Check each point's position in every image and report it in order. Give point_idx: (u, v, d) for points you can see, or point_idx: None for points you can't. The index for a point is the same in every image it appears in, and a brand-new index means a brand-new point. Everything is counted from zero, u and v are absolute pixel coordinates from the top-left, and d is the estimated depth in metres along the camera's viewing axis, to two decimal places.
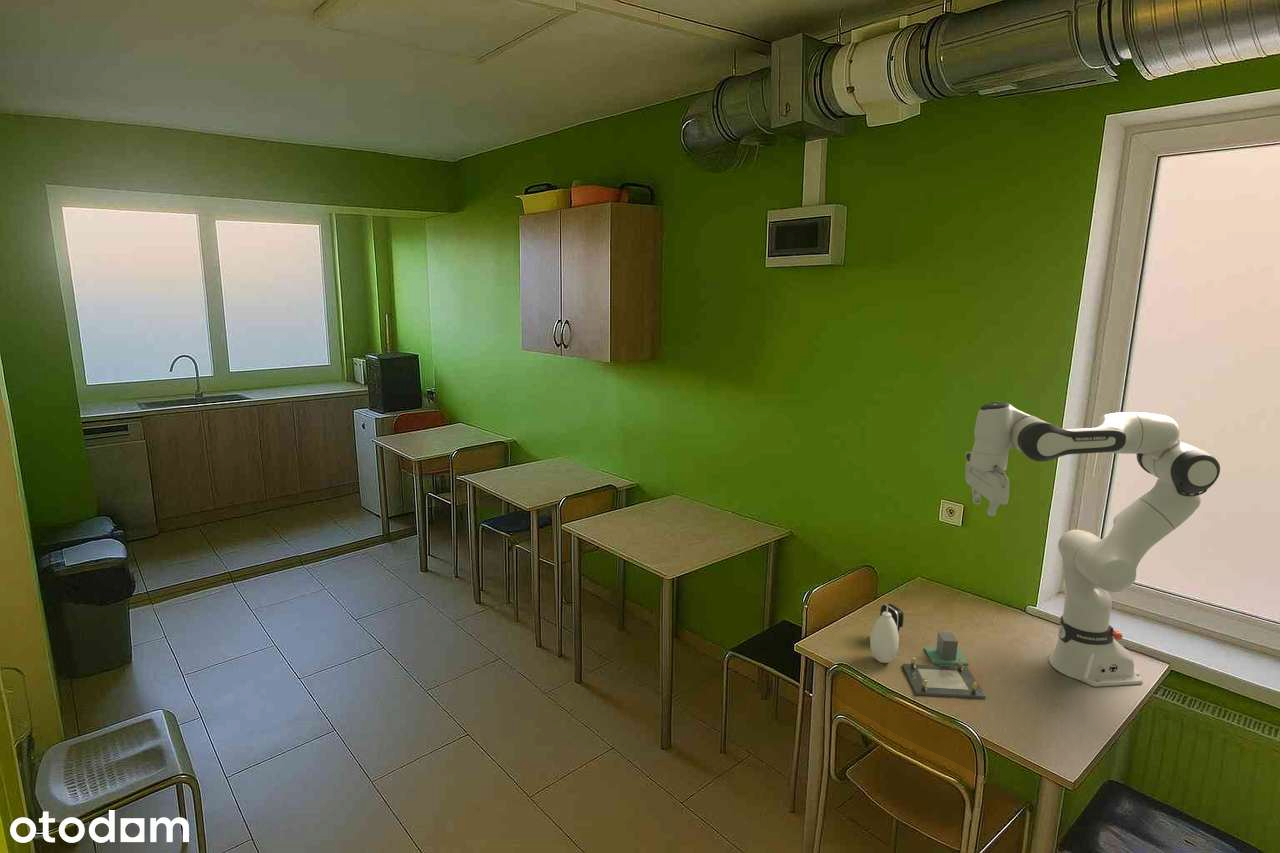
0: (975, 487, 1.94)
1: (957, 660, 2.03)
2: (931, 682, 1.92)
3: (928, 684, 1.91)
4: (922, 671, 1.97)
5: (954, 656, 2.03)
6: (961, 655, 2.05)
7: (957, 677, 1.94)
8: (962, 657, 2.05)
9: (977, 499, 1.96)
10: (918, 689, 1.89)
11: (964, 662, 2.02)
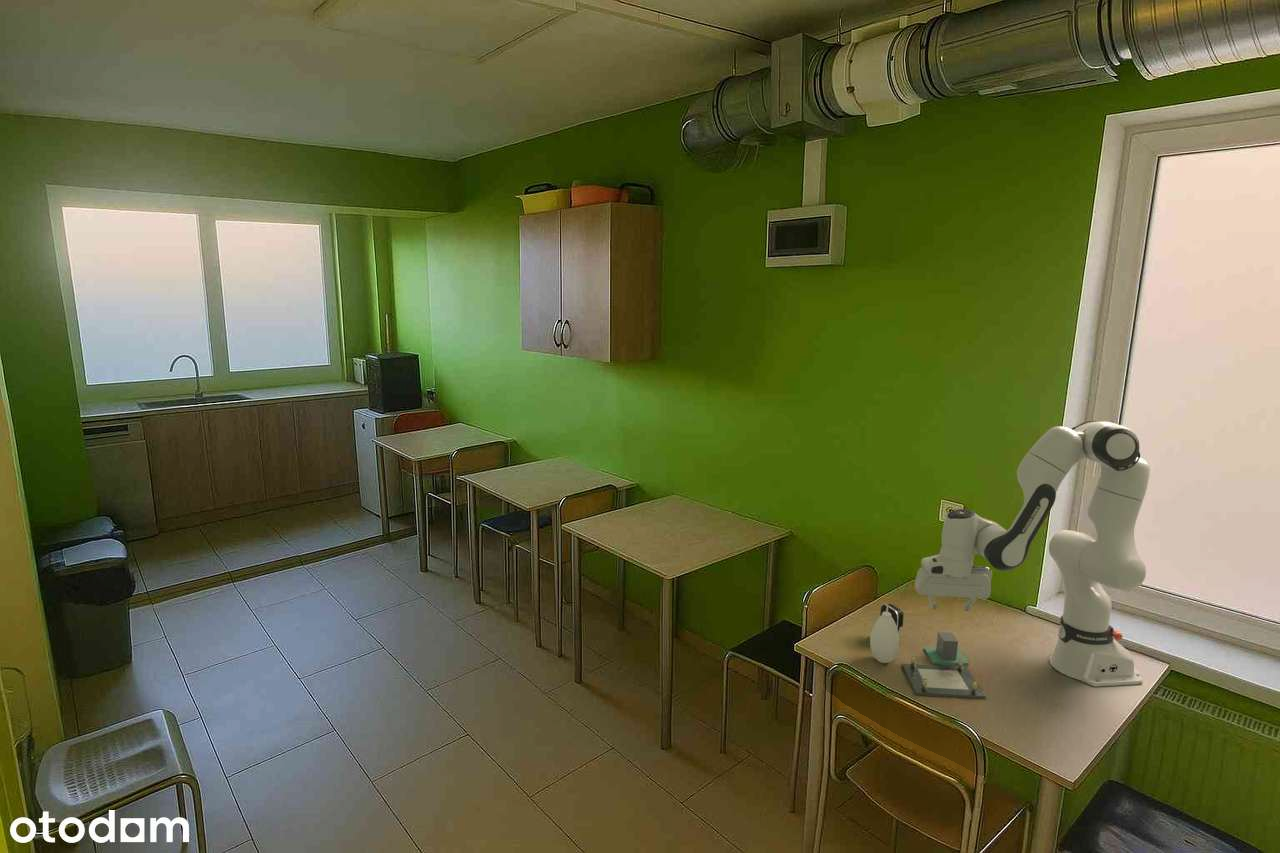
0: (945, 594, 2.00)
1: (957, 660, 2.03)
2: (931, 682, 1.92)
3: (928, 684, 1.91)
4: (922, 671, 1.97)
5: (954, 656, 2.03)
6: (961, 655, 2.06)
7: (957, 677, 1.94)
8: (962, 656, 2.05)
9: None
10: (918, 689, 1.89)
11: (964, 662, 2.02)
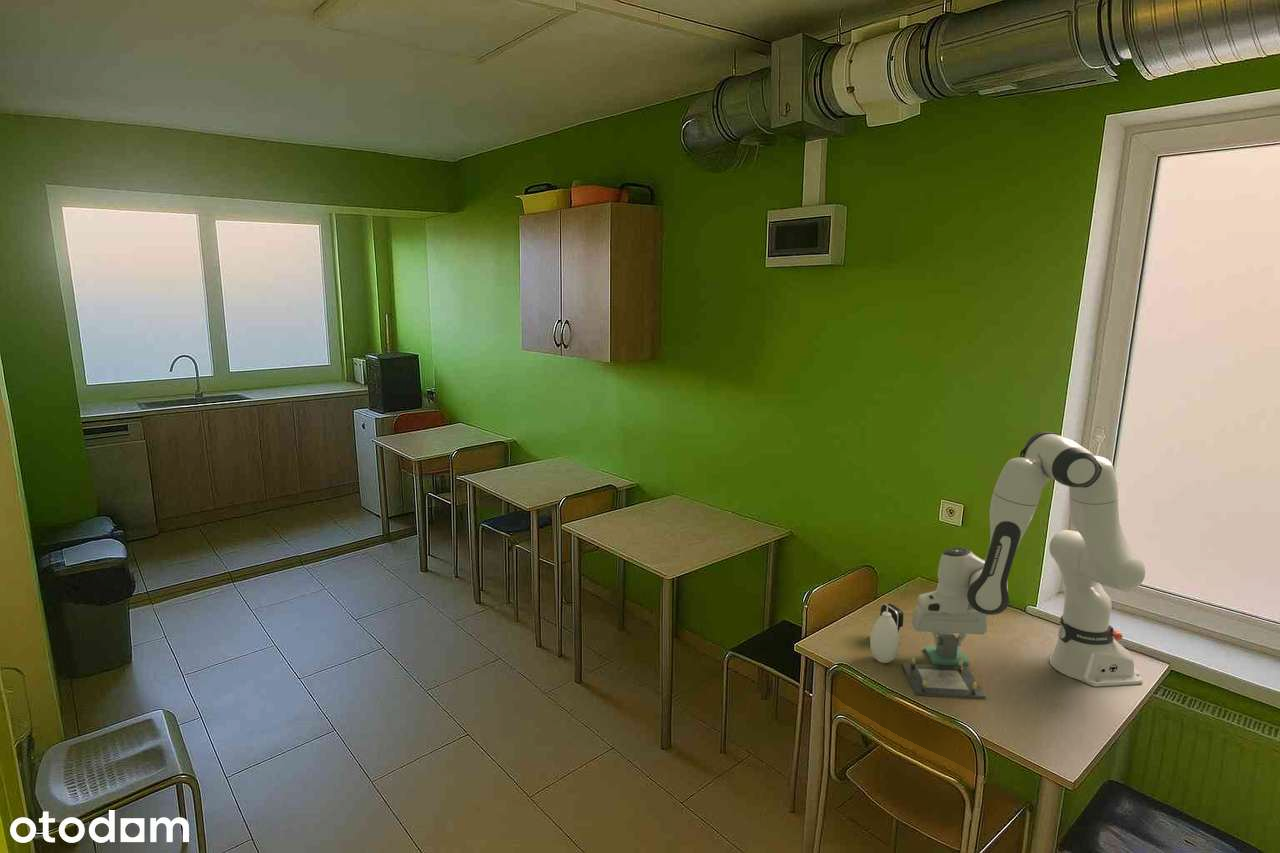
0: (942, 630, 2.02)
1: (957, 659, 2.03)
2: (931, 682, 1.92)
3: (928, 684, 1.91)
4: (922, 671, 1.97)
5: (954, 655, 2.03)
6: (961, 654, 2.06)
7: (957, 677, 1.94)
8: (962, 655, 2.05)
9: None
10: (918, 689, 1.89)
11: (964, 661, 2.02)
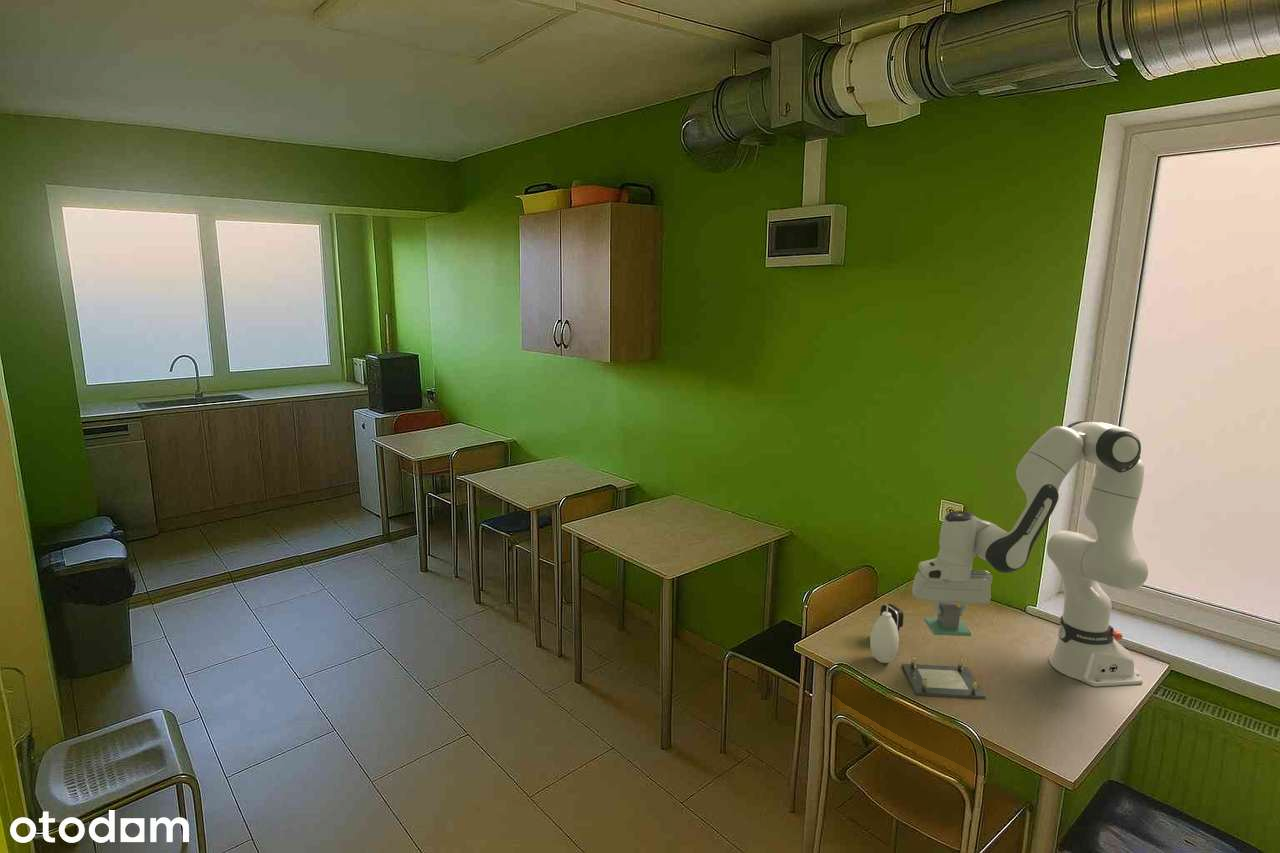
0: (943, 599, 1.92)
1: (959, 630, 1.93)
2: (931, 682, 1.92)
3: (928, 684, 1.91)
4: (922, 671, 1.97)
5: (956, 625, 1.93)
6: (963, 625, 1.96)
7: (957, 677, 1.94)
8: (965, 626, 1.95)
9: None
10: (918, 689, 1.89)
11: (967, 632, 1.92)
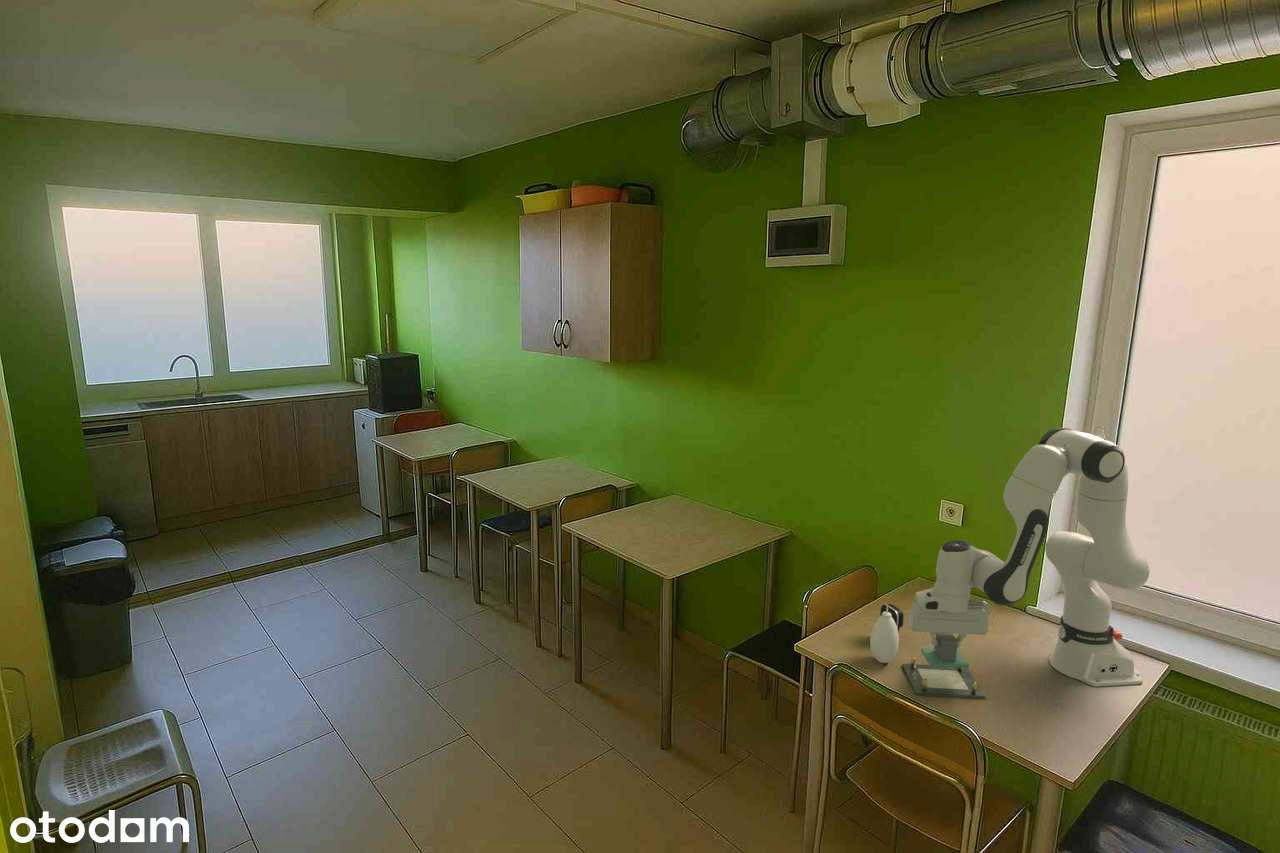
0: (940, 630, 1.88)
1: (957, 661, 1.89)
2: (931, 682, 1.92)
3: (928, 684, 1.91)
4: (922, 671, 1.97)
5: (954, 657, 1.89)
6: (960, 656, 1.92)
7: (957, 677, 1.94)
8: (962, 657, 1.91)
9: None
10: (918, 689, 1.89)
11: (964, 663, 1.88)
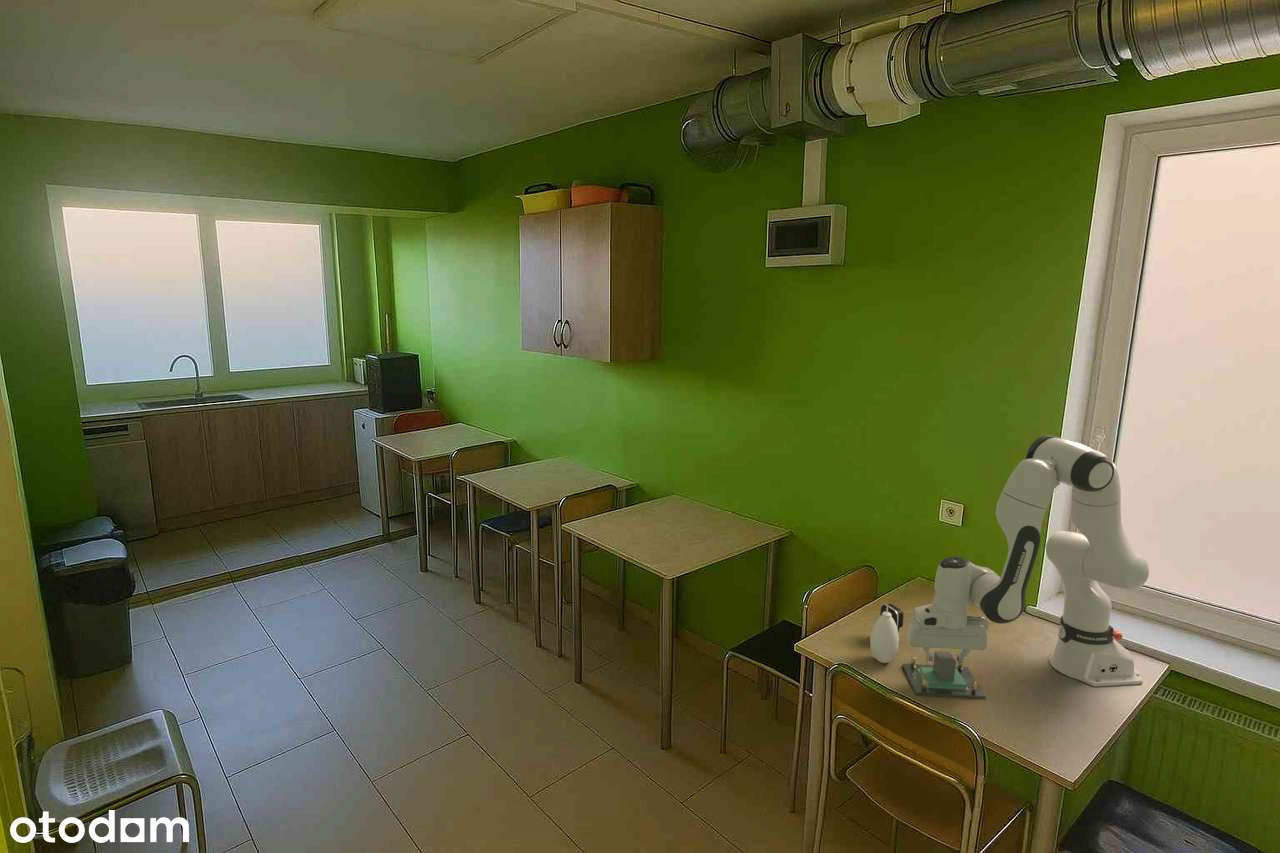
0: (939, 645, 1.89)
1: (955, 681, 1.90)
2: None
3: None
4: None
5: (952, 677, 1.90)
6: (959, 675, 1.93)
7: None
8: (960, 677, 1.92)
9: None
10: (918, 689, 1.89)
11: (962, 683, 1.90)
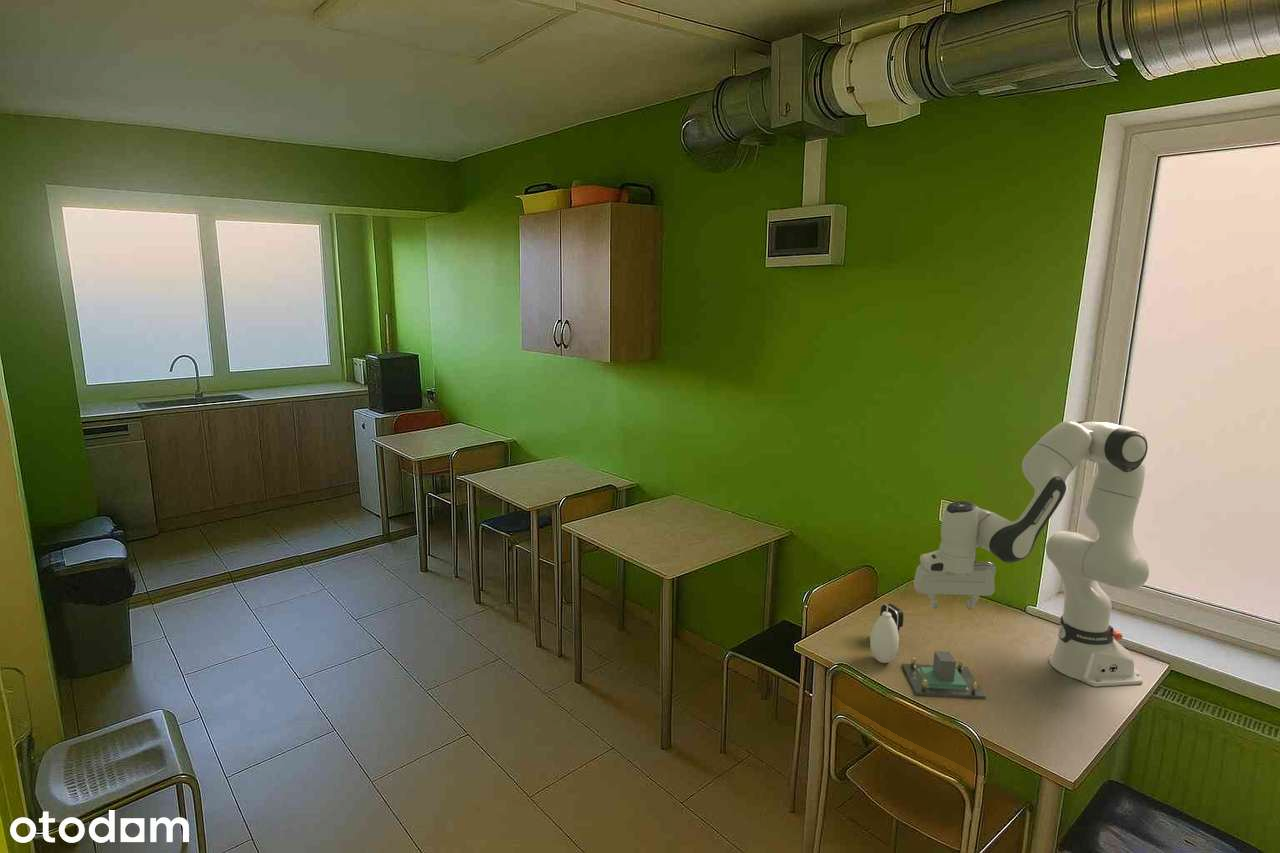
0: (946, 592, 1.87)
1: (955, 681, 1.90)
2: None
3: None
4: None
5: (952, 677, 1.90)
6: (959, 675, 1.93)
7: None
8: (960, 677, 1.92)
9: None
10: (918, 689, 1.89)
11: (962, 683, 1.90)
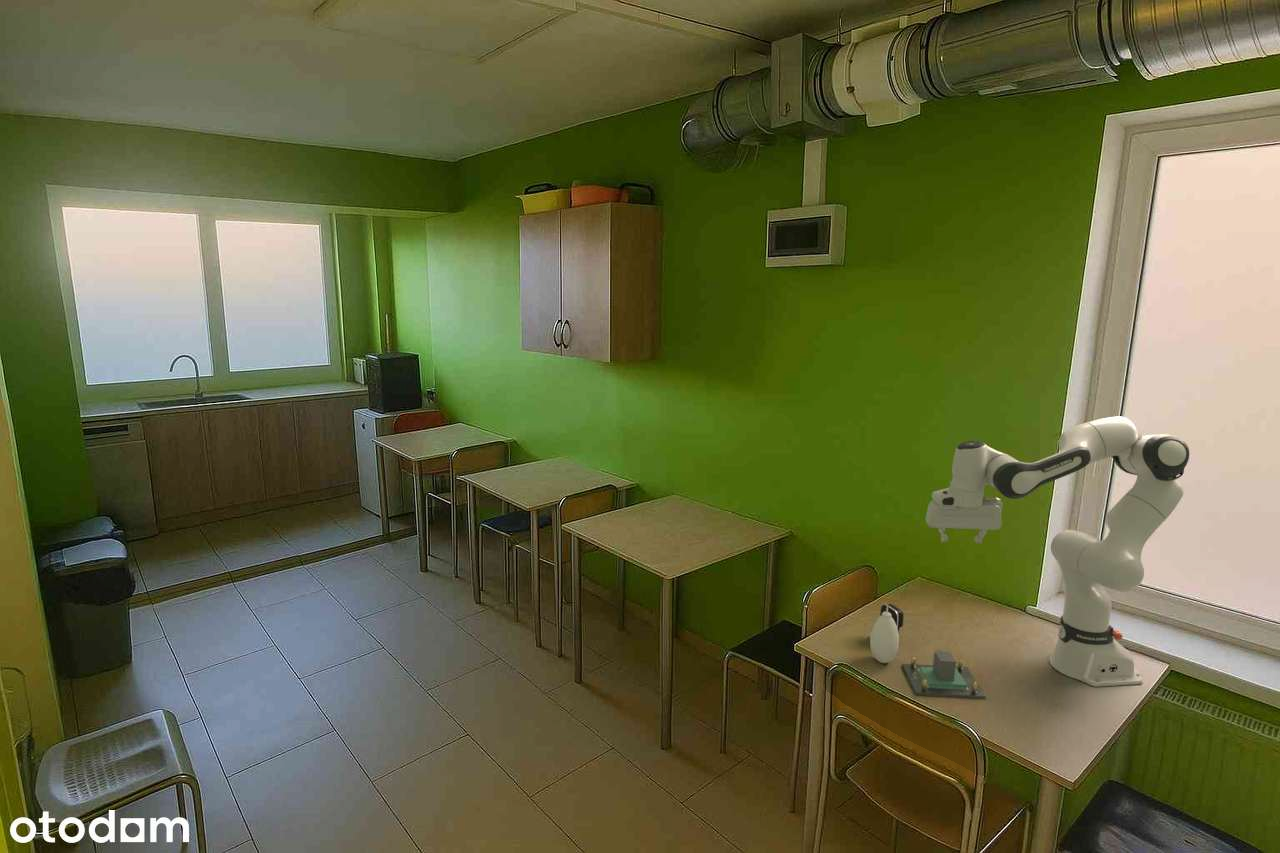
0: (956, 526, 2.01)
1: (955, 681, 1.90)
2: None
3: None
4: None
5: (952, 677, 1.90)
6: (959, 675, 1.93)
7: None
8: (960, 677, 1.92)
9: None
10: (918, 689, 1.89)
11: (962, 683, 1.90)
